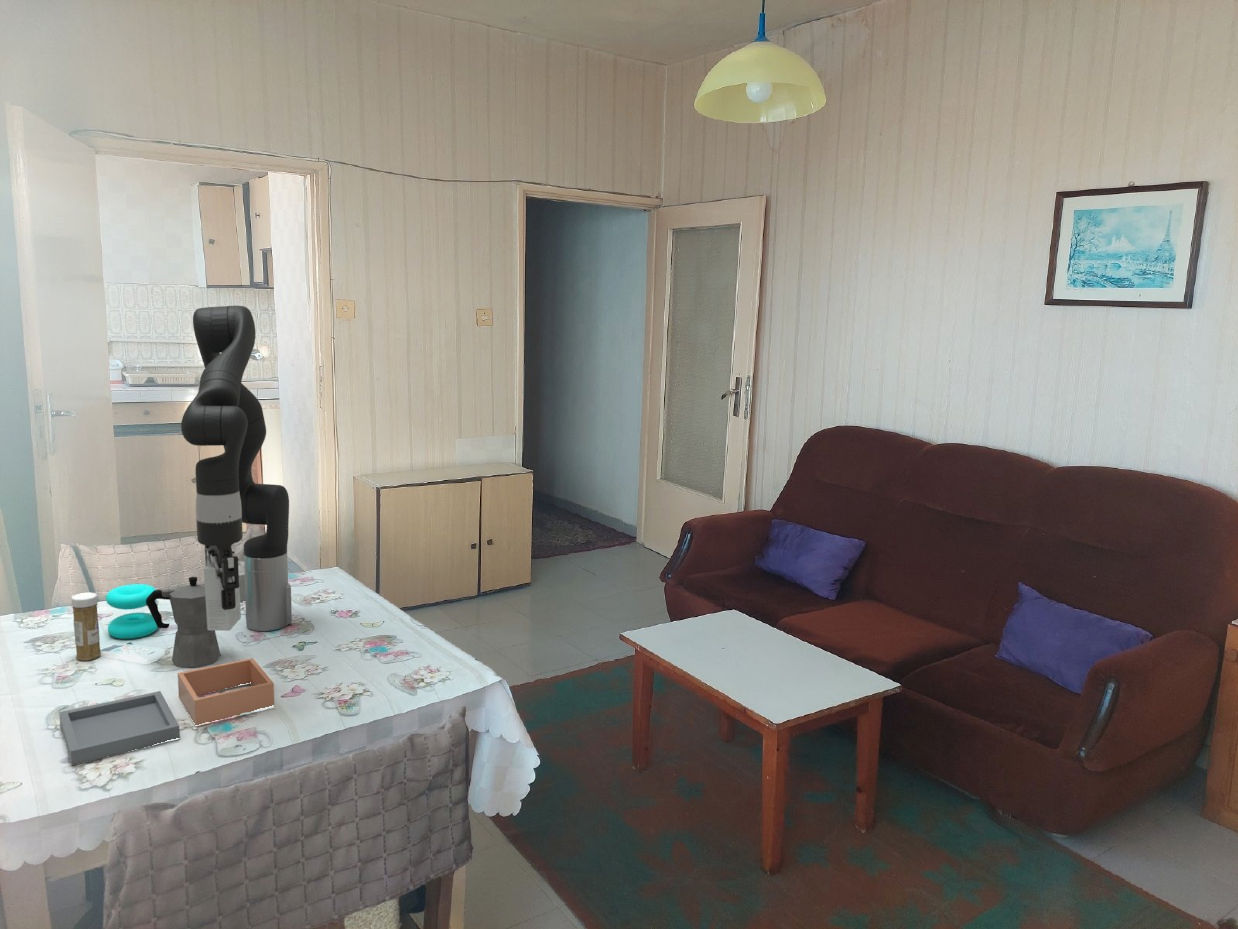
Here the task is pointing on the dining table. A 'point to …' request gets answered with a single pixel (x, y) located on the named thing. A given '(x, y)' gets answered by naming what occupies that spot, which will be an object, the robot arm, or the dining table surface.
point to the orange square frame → (227, 701)
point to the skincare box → (219, 603)
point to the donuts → (132, 622)
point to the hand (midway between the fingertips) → (223, 602)
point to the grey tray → (117, 727)
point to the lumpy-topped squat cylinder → (241, 580)
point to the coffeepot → (188, 624)
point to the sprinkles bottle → (86, 626)
